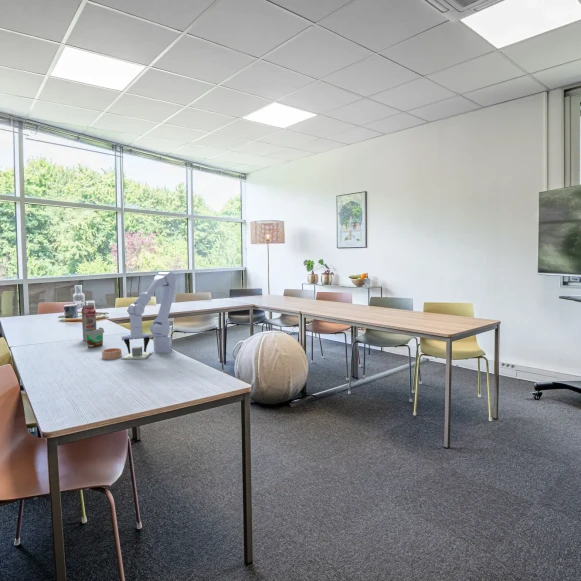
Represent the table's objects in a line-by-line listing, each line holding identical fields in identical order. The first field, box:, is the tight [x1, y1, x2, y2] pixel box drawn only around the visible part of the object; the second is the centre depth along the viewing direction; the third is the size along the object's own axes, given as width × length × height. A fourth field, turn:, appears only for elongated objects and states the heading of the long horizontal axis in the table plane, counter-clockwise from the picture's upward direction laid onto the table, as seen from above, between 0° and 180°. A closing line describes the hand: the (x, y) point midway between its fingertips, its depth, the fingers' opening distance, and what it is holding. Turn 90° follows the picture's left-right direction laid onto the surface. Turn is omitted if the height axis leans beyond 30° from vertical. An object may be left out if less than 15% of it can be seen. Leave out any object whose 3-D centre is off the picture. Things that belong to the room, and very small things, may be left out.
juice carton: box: [81, 304, 97, 342], centre depth 258 cm, size 7×7×22 cm
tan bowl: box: [101, 347, 123, 360], centre depth 215 cm, size 9×9×4 cm
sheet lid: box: [122, 345, 152, 360], centre depth 216 cm, size 11×11×5 cm
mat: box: [120, 352, 154, 361], centre depth 216 cm, size 13×13×1 cm
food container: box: [86, 327, 105, 349], centre depth 241 cm, size 12×6×10 cm, turn 168°
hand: (137, 352), depth 216 cm, fingers open, 7 cm apart
